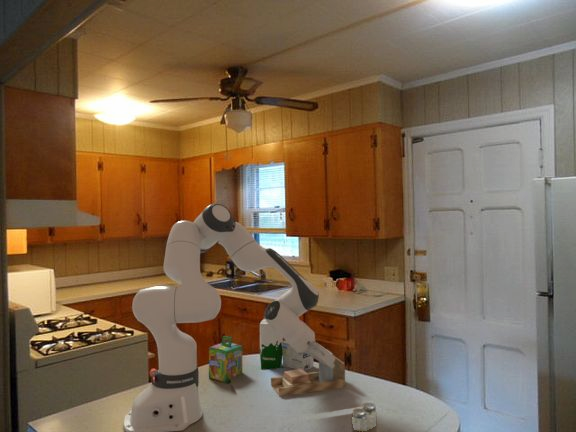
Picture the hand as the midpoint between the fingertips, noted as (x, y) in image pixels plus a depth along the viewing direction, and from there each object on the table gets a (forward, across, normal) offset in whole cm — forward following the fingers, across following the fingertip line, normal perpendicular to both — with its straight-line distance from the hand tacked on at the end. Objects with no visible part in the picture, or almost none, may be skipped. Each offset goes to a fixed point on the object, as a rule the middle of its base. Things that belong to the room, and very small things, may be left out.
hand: (327, 363), depth 152 cm
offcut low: (-3, +1, +13) cm, 13 cm away
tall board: (+4, 0, +5) cm, 7 cm away
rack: (0, +1, +11) cm, 11 cm away
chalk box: (-15, +25, +26) cm, 39 cm away
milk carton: (-1, +27, +13) cm, 30 cm away
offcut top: (-5, +2, +11) cm, 12 cm away
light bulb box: (+5, +20, +7) cm, 22 cm away
